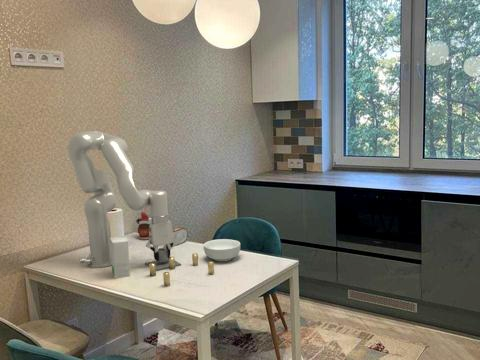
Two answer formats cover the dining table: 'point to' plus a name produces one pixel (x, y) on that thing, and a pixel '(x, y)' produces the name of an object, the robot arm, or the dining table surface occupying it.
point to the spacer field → (172, 266)
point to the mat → (162, 265)
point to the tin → (180, 235)
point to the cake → (143, 225)
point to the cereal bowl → (222, 249)
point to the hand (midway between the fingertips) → (162, 258)
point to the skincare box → (120, 256)
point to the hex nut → (163, 254)
